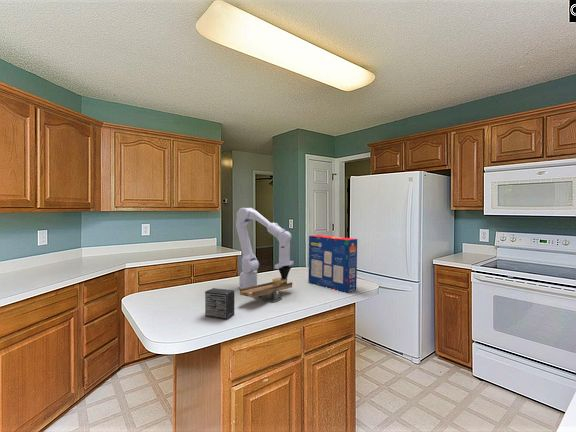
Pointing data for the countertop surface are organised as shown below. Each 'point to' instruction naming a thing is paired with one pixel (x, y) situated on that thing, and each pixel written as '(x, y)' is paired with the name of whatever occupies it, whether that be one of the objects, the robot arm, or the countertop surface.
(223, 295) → the small box
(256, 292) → the beam
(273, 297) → the fulcrum
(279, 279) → the block
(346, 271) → the blue game box
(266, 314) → the countertop surface
